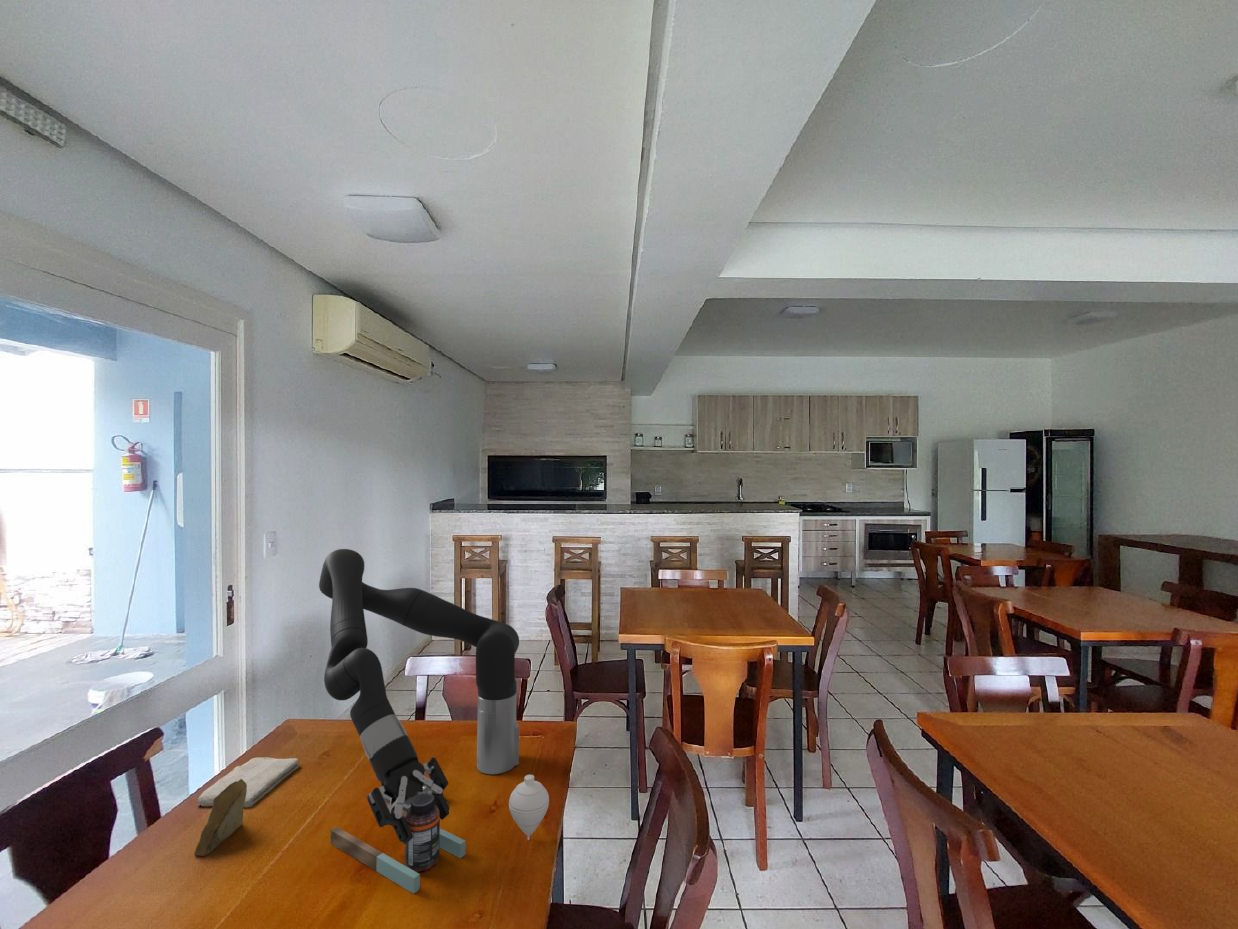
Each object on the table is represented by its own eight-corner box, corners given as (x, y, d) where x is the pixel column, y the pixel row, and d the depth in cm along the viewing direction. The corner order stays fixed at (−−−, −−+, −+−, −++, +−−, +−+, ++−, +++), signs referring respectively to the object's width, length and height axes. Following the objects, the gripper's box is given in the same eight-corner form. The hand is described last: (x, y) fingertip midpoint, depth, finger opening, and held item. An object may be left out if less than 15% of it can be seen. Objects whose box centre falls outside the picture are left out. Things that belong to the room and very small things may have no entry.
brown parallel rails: (330, 843, 105) (330, 830, 105) (383, 813, 115) (383, 800, 115) (376, 871, 98) (376, 857, 98) (429, 836, 107) (429, 823, 107)
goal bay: (376, 871, 98) (376, 857, 98) (428, 836, 107) (429, 823, 107) (413, 894, 92) (413, 878, 92) (465, 854, 102) (465, 841, 102)
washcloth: (302, 767, 134) (302, 754, 134) (251, 811, 116) (251, 796, 116) (253, 766, 134) (254, 753, 134) (195, 810, 116) (195, 795, 116)
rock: (208, 852, 99) (264, 814, 108) (186, 809, 100) (243, 775, 109) (185, 871, 103) (241, 833, 112) (165, 829, 105) (222, 795, 114)
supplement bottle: (409, 852, 103) (410, 790, 103) (442, 850, 103) (443, 788, 104) (400, 875, 97) (400, 809, 97) (434, 873, 97) (435, 807, 98)
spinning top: (555, 832, 109) (556, 770, 109) (537, 857, 102) (537, 791, 102) (520, 824, 111) (521, 763, 112) (500, 848, 104) (501, 783, 104)
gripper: (410, 742, 113) (448, 818, 107) (344, 773, 101) (383, 861, 94) (428, 722, 110) (468, 798, 104) (362, 751, 98) (403, 841, 92)
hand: (427, 828), depth 99 cm, fingers open, 7 cm apart
